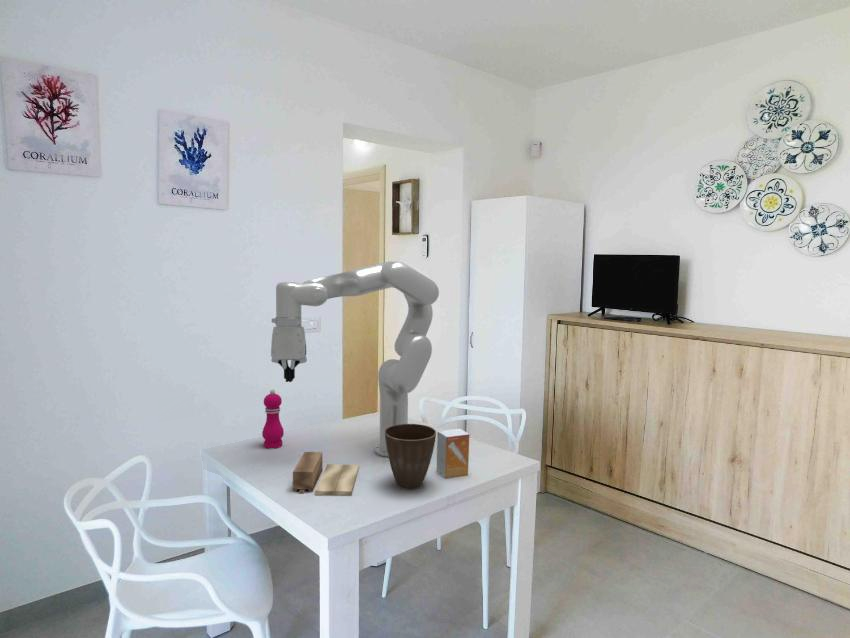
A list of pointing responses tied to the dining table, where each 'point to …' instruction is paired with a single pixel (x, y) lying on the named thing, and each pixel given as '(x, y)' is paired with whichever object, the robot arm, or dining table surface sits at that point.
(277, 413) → the pepper mill
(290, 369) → the robot arm
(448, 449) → the small box
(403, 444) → the plant pot
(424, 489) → the dining table surface
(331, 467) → the board
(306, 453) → the brown wooden block
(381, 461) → the dining table surface
